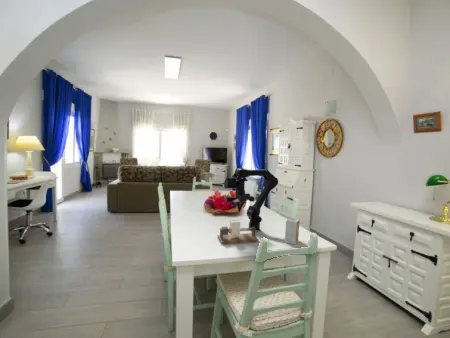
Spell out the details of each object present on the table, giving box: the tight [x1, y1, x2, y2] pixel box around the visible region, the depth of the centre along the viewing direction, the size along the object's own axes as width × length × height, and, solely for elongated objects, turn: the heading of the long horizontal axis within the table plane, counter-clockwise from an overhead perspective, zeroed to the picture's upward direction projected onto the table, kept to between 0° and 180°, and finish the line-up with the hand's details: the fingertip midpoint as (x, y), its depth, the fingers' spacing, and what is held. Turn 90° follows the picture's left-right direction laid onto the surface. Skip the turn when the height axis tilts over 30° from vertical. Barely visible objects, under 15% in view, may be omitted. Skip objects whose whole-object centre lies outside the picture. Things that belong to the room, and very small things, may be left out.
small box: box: [284, 217, 300, 245], centre depth 140 cm, size 8×6×13 cm
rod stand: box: [216, 226, 260, 246], centre depth 140 cm, size 22×11×8 cm, turn 105°
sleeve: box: [229, 219, 241, 235], centre depth 140 cm, size 5×4×8 cm
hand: (239, 211), depth 154 cm, fingers closed
